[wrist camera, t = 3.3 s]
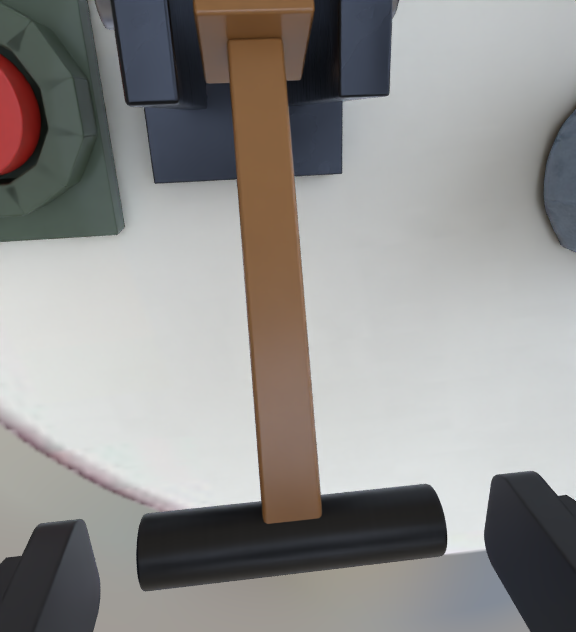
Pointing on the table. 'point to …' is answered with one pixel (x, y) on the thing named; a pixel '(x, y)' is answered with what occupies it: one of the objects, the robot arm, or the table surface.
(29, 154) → the button
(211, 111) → the bracket
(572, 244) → the moka pot
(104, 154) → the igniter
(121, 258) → the table surface
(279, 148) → the lever
